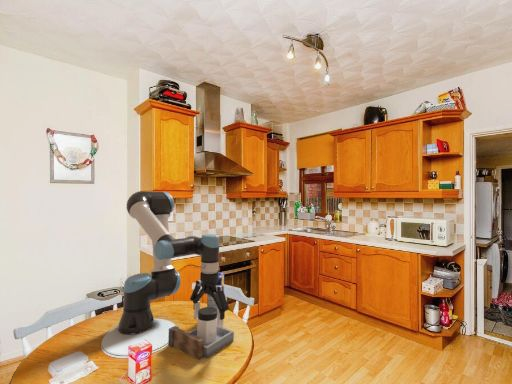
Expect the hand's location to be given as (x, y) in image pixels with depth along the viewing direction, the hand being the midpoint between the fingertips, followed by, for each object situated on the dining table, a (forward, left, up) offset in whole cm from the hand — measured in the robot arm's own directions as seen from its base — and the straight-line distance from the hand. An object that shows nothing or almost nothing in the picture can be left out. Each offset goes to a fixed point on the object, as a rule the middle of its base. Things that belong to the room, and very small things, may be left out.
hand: (208, 322), depth 113 cm
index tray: (0, 0, -9) cm, 9 cm away
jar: (0, 0, -7) cm, 7 cm away
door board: (-2, -10, -9) cm, 13 cm away
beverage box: (-13, +18, -9) cm, 24 cm away
